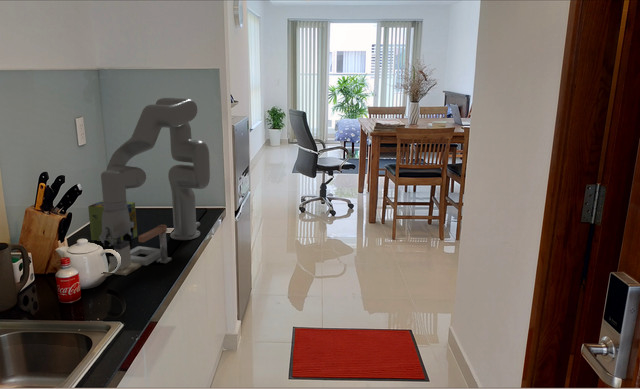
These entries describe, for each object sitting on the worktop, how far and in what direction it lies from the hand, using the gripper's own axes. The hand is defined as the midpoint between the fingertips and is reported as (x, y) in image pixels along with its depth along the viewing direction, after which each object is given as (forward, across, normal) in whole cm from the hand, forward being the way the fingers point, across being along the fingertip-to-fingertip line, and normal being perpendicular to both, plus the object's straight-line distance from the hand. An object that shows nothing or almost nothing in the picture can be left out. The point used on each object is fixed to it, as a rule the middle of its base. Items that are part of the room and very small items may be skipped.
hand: (119, 251), depth 171 cm
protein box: (+7, -26, -23) cm, 36 cm away
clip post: (+7, -12, +10) cm, 17 cm away
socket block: (+7, -12, +1) cm, 13 cm away
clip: (-5, -6, +11) cm, 13 cm away
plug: (+6, 0, 0) cm, 6 cm away
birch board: (+7, 0, 0) cm, 7 cm away
